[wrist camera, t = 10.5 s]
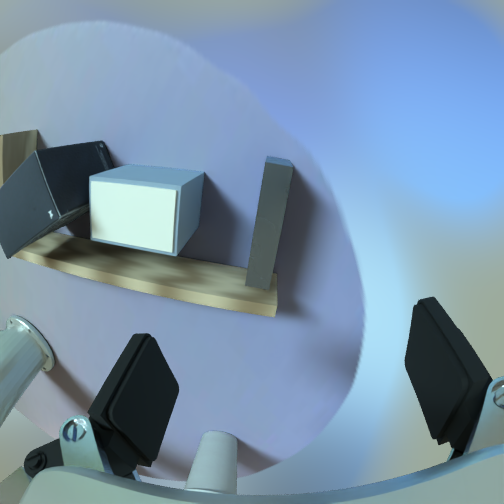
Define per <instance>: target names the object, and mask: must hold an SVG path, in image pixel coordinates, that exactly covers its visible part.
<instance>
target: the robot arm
mask: <svg viewBox="0 0 504 504" xmlns="http://www.w3.org/2000/svg"><path fill="white" fill-rule="evenodd" d="M54 363H55V361H54V356H53V353H52V351H51V349H50V347H49V345H48V344H47V342H46V341H45V339H44V338H43V337H42V335H41V334H40V333H39V332H38V331H37V330H36V329H35V327H33V326H32V325H31V324H30V323H29V322H28V321H26V320H25V319H23V318H21V317H19V316H11V317H10V318H9V319H8V320H7V322H6V329H5V330H0V427H1V425H2V424H3V422H4V421H5V419H6V417H7V416H8V415H9V413H10V412H11V410H12V409H13V407H14V406H15V404H16V403H17V402H18V400H19V399H20V397H21V396H22V395H23V393H24V392H25V390H26V389H27V388H28V386H29V385H30V383H31V382H32V381H33V379H34V378H35V377H36V375H37V374H38V373H39V371H40V370H42V371H50V370H51V369H52V368H53V366H54ZM405 367H406V370H407V373H408V375H409V378H410V380H411V383H412V385H413V388H414V390H415V393H416V395H417V398H418V401H419V403H420V406H421V408H422V411H423V414H424V417H425V420H426V422H427V425H428V428H429V431H430V434H431V437H432V438H433V439H437V442H438V445H441V444H444V443H446V442H450V445H451V447H452V450H451V452H450V455H449V457H448V459H447V461H446V462H444V463H441V464H439V465H436V466H433V467H431V468H427V469H424V470H421V471H417V472H414V473H411V474H408V475H404V476H401V477H397V478H393V479H389V480H385V481H381V482H376V483H372V484H367V485H363V486H358V487H352V488H346V489H339V490H332V491H325V492H316V493H305V494H291V495H232V494H217V493H206V492H197V491H189V490H182V489H176V488H170V487H164V486H159V485H154V484H149V483H145V482H142V481H141V479H140V477H139V475H138V473H137V471H136V466H137V464H138V465H141V466H146V467H151V464H152V461H155V460H156V458H157V456H158V453H159V450H160V446H161V443H162V440H163V437H164V434H165V431H166V428H167V425H168V422H169V420H170V417H171V414H172V411H173V408H174V405H175V402H176V399H177V396H178V393H179V385H178V383H177V381H176V379H175V377H174V375H173V373H172V371H171V370H170V368H169V366H168V364H167V362H166V360H165V358H164V356H163V354H162V352H161V350H160V348H159V346H158V344H157V342H156V340H155V338H154V337H151V335H150V334H148V333H144V334H134V335H133V336H132V338H131V339H130V341H129V342H128V344H127V346H126V347H125V349H124V351H123V352H122V354H121V355H120V357H119V359H118V360H117V362H116V364H115V365H114V367H113V369H112V371H111V372H110V374H109V376H108V377H107V379H106V381H105V382H104V384H103V386H102V388H101V389H100V391H99V393H98V395H97V396H96V398H95V400H94V402H93V404H92V405H91V407H90V409H89V411H88V414H89V415H90V417H89V419H88V418H86V417H85V416H82V415H76V416H72V417H70V418H69V419H67V420H66V421H65V422H64V423H63V425H62V426H61V428H60V431H59V439H56V440H54V441H52V442H50V443H48V444H45V445H43V446H41V447H39V448H36V449H34V450H33V451H31V452H30V453H29V454H28V455H27V456H26V458H25V461H24V468H23V467H22V466H21V467H19V468H18V469H17V470H16V471H14V472H13V473H12V474H11V475H9V476H8V477H7V478H6V479H4V480H3V481H2V482H1V483H0V504H504V376H502V377H498V378H496V379H495V380H493V379H492V378H491V376H490V374H489V373H488V371H487V370H486V368H485V366H484V365H483V363H482V362H481V360H480V358H479V357H478V356H477V354H476V352H475V351H474V349H473V348H472V346H471V345H470V343H469V342H468V341H467V339H466V337H465V336H464V335H463V333H462V332H461V331H460V329H458V328H457V327H456V325H455V324H454V323H453V321H452V320H451V318H450V317H449V316H448V314H447V313H446V312H445V310H444V309H443V307H442V306H441V305H440V304H439V303H438V301H437V300H436V298H435V297H429V298H425V299H420V300H419V301H418V303H417V305H414V307H413V313H412V320H411V327H410V333H409V339H408V345H407V350H406V355H405Z"/></svg>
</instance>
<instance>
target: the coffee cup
mask: <svg viewBox="0 0 504 504" xmlns="http://www.w3.org/2000/svg"><path fill="white" fill-rule="evenodd" d="M236 480H237V439H236V438H235V437H234V436H233V435H231V434H229V433H226V432H221V431H208V432H205V433H204V434H203V436H202V439H201V442H200V445H199V447H198V450H197V453H196V456H195V459H194V462H193V465H192V468H191V471H190V474H189V477H188V479H187V482H186V485H185V488H184V489H183V490H189V491H197V492H206V493H217V494H232V495H236V486H237V481H236Z"/></svg>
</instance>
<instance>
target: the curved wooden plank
mask: <svg viewBox="0 0 504 504" xmlns="http://www.w3.org/2000/svg"><path fill="white" fill-rule="evenodd" d="M35 150H37V130H30V131H23V132H16V133H10V134H4V135H0V188H1V187H2V185H3V184H4V183H5V182H6V181H7V180H8V178H9V177H10V176H11V175H12V174H13V173H14V172H15V171H16V169H17V168H18V167H19V166H20V165H21V164H22V163H23V162H24V161H25V160H26V159H27V158H28V157H29V156H30V155H31V154H32V153H33V152H34V151H35ZM13 257H16V258H19V259H23V260H26V261H29V262H32V263H35V264H39V265H42V266H45V267H49V268H52V269H55V270H59V271H62V272H66V273H69V274H73V275H77V276H80V277H84V278H88V279H92V280H95V281H99V282H103V283H107V284H111V285H115V286H119V287H123V288H127V289H132V290H136V291H140V292H144V293H149V294H153V295H158V296H162V297H167V298H172V299H176V300H181V301H186V302H191V303H196V304H201V305H206V306H212V307H217V308H222V309H228V310H233V311H239V312H245V313H251V314H257V315H263V316H270V317H275V314H276V310H277V273H272V278H271V283H270V287H269V290H266V289H260V288H254V287H248V286H245V282H246V276H247V270H248V269H247V268H241V267H235V266H230V265H224V264H218V263H213V262H207V261H201V260H196V259H190V258H185V257H179V256H171V255H166V254H161V253H155V252H150V251H145V250H139V249H134V248H129V247H124V246H119V245H114V244H108V243H103V242H98V241H93V240H90V239H85V238H80V237H75V236H70V235H65V234H60V233H55V232H51V233H49V234H47V235H46V236H44V237H42V238H40V239H39V240H37V241H35V242H33V243H32V244H30V245H28V246H27V247H25V248H23V249H22V250H20V251H19V252H18V253H16V254H15V255H13Z"/></svg>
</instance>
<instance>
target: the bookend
mask: <svg viewBox="0 0 504 504" xmlns="http://www.w3.org/2000/svg"><path fill="white" fill-rule="evenodd" d="M293 168H294V167H293V165H292V164H291V162H290V161H289V160H286V159H281V158H275V157H269V156H267V158H266V162H265V168H264V174H263V180H262V185H261V191H260V197H259V203H258V209H257V215H256V221H255V227H254V233H253V239H252V245H251V251H250V257H249V263H248V270H247V276H246V282H245V286H248V287H254V288H260V289H266V290H269V287H270V283H271V278H272V273H273V269H274V264H275V259H276V254H277V249H278V244H279V240H280V235H281V230H282V225H283V220H284V215H285V209H286V204H287V199H288V194H289V189H290V184H291V178H292V173H293Z"/></svg>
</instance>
